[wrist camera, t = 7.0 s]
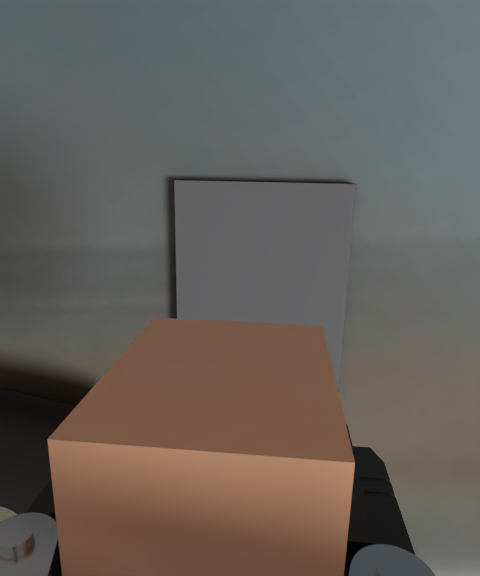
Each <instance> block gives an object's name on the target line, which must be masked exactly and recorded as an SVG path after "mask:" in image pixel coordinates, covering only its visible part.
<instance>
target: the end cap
mask: <svg viewBox="0 0 480 576" xmlns="http://www.w3.org/2000/svg"><path fill="white" fill-rule="evenodd" d="M76 406H77V405H73V404H68V403H64V402H59V401H55V400H50V399H46V398H41V397H37V396H32V395H28V394H24V393H19V392H15V391H10V390H6V389H1V388H0V506H1V507H5V508H8V509H10V510H12V511H14V512H15V513H16V514H23V513H26V512H27V510H28V509H29V508H30V506H31V505H32V504H33V502H34V501H35V500H36V498H37V497H38V496H39V494H40V493H41V492H42V490H43V489H44V488H45V486H46V485H47V484H48V482H49V481H50V480H51V469H50V459H49V450H48V441H47V439H48V438H49V437H50V436H51V435H52V433H53V432H54V431H55V430H56V429H57V428H58V427H59V425H60V424H61V423H62V422H63V421H64V420H65V419H66V417H67V416H68V415H69V414H70V413H71V412H72V411H73V409H74V408H75V407H76Z"/></svg>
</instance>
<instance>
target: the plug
mask: <svg viewBox="0 0 480 576" xmlns="http://www.w3.org/2000/svg"><path fill="white" fill-rule="evenodd" d="M47 441H48V450H49V459H50V469H51V478H52V487H53V496H54V506H55V515H56V524H57V533H58V543H59V552H60V561H61V570H62V576H344V569H345V559H346V549H347V539H348V529H349V519H350V509H351V499H352V489H353V479H354V469H355V460H354V456H353V452H352V448H351V444H350V439H349V435H348V431H347V427H346V423H345V419H344V414H343V410H342V406H341V402H340V398H339V394H338V389H337V385H336V381H335V377H334V373H333V369H332V364H331V360H330V356H329V352H328V348H327V344H326V339H325V335H324V331H323V327H322V326H314V325H294V324H274V323H254V322H234V321H214V320H194V319H173V318H153V319H152V320H151V321H150V323H149V324H148V325H147V326H146V327H145V328H144V329H143V331H142V332H141V333H140V334H139V335H138V336H137V337H136V339H135V340H134V341H133V342H132V343H131V344H130V345H129V347H128V348H127V349H126V350H125V351H124V352H123V353H122V355H121V356H120V357H119V358H118V359H117V360H116V361H115V363H114V364H113V365H112V366H111V367H110V368H109V369H108V371H107V372H106V373H105V374H104V375H103V376H102V377H101V379H100V380H99V381H98V382H97V383H96V384H95V385H94V387H93V388H92V389H91V390H90V391H89V392H88V393H87V395H86V396H85V397H84V398H83V399H82V400H81V401H80V403H79V404H78V405H77V406H76V407H75V408H74V409H73V411H72V412H71V413H70V414H69V415H68V416H67V417H66V419H65V420H64V421H63V422H62V423H61V424H60V425H59V427H58V428H57V429H56V430H55V431H54V432H53V433H52V435H51V436H50V437H49V438H48V439H47Z"/></svg>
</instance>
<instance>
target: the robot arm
mask: <svg viewBox="0 0 480 576" xmlns="http://www.w3.org/2000/svg"><path fill="white" fill-rule="evenodd" d="M346 427H347V431H348V435H349V439H350V444H351V448H352V452H353V456H354V460H355V469H354V479H353V489H352V499H351V509H350V519H349V529H348V539H347V549H346V559H345V569H344V576H435V575H434V573H433V572H432V570H431V569H430V568H429V567H428V566H427V565H426V564H425V563H424V562H423V561H422V560H421V559H419V558H418V557H417V556H415V553H414V550H413V547H412V544H411V541H410V538H409V535H408V533H407V530H406V527H405V524H404V521H403V518H402V515H401V512H400V509H399V506H398V503H397V500H396V497H394V491H393V488H392V485H391V483H390V479H389V476H388V473H387V470H386V467H385V464H384V462H383V461H382V460H381V459H380V458H379V457H378V456H377V455H376V454H375V453H374V451H373V450H372V449H371V448H369V447H355V446H352V442H351V438H350V434H349V430H348V426H347V424H346ZM0 576H62V570H61V561H60V552H59V543H58V533H57V524H56V515H55V506H54V496H53V487H52V478H51V480H50V481H49V482H48V484H47V485H46V486H45V488H44V489H43V490H42V492H41V493H40V494H39V496H38V497H37V498H36V500H35V501H34V502H33V504H32V505H31V506H30V508H29V509H28V510H27V512H26V513H23V514H18V515H14V516H11V517H9V518H6V519H4V520H2V521H0Z"/></svg>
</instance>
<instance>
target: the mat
mask: <svg viewBox="0 0 480 576" xmlns="http://www.w3.org/2000/svg"><path fill="white" fill-rule="evenodd" d="M174 192H175V241H176V291H177V319H194V320H214V321H234V322H254V323H274V324H294V325H314V326H322V327H323V331H324V335H325V339H326V344H327V348H328V352H329V356H330V360H331V364H332V369H333V373H334V377H335V381H336V385H337V389H338V394H339V383H340V371H341V359H342V347H343V335H344V323H345V312H346V300H347V288H348V276H349V264H350V252H351V240H352V228H353V217H354V205H355V193H356V184H338V183H291V182H245V181H198V180H174Z"/></svg>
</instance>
